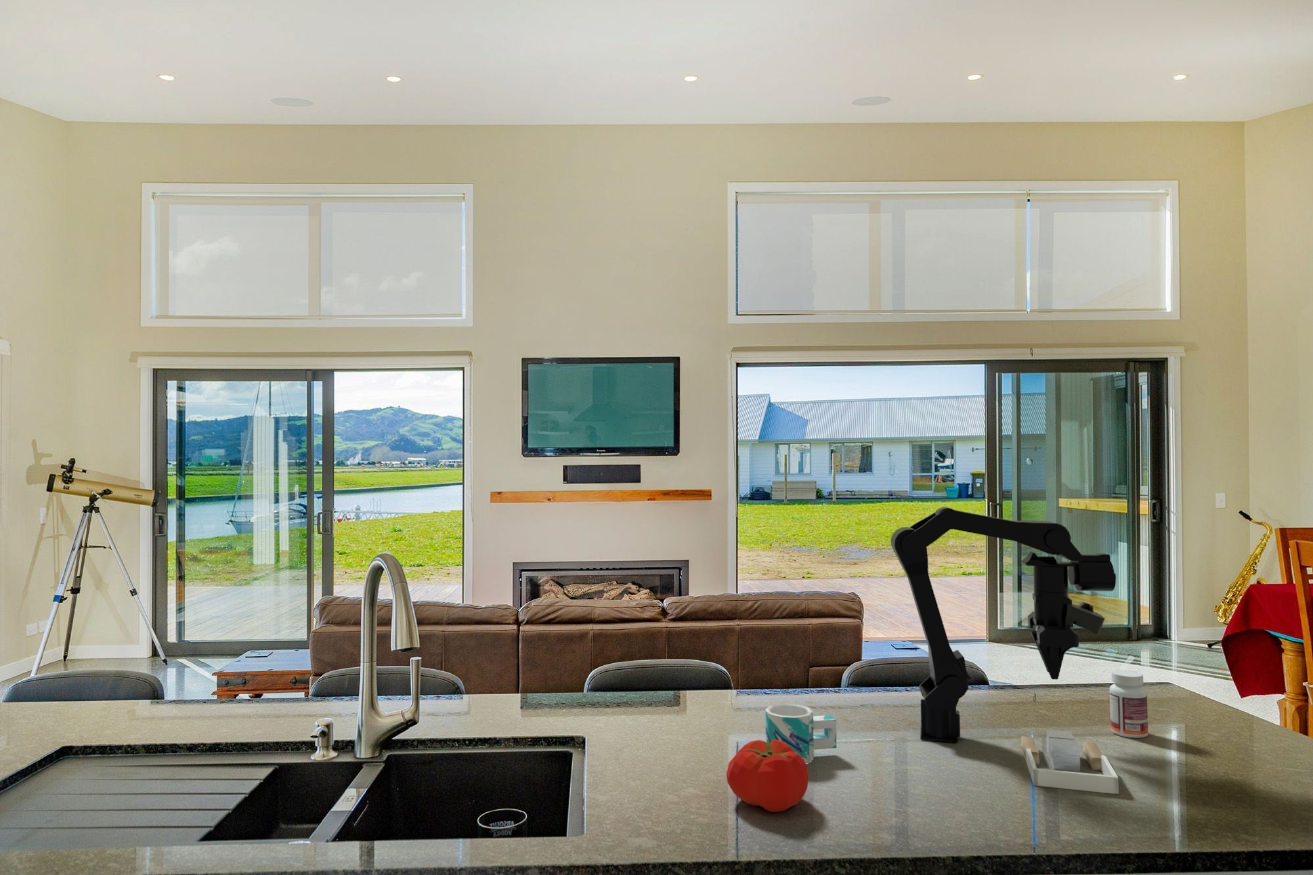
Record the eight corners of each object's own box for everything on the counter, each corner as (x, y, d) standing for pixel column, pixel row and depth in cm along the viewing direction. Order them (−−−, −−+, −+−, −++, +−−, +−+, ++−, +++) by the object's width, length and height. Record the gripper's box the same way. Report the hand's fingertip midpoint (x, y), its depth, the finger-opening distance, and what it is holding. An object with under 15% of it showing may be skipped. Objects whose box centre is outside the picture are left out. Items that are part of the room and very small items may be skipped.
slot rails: (1026, 763, 140) (1026, 751, 140) (1021, 747, 148) (1021, 736, 148) (1105, 770, 137) (1105, 758, 137) (1096, 754, 144) (1095, 742, 144)
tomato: (724, 786, 132) (723, 732, 132) (803, 787, 131) (802, 732, 131) (729, 821, 119) (728, 761, 119) (815, 822, 118) (815, 762, 119)
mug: (761, 751, 147) (760, 704, 148) (825, 747, 149) (824, 700, 150) (775, 768, 139) (774, 718, 140) (842, 763, 141) (842, 714, 141)
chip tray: (1033, 785, 131) (1033, 769, 131) (1026, 763, 140) (1026, 748, 140) (1118, 794, 127) (1118, 777, 127) (1105, 770, 137) (1105, 755, 137)
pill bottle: (1154, 734, 154) (1153, 673, 154) (1137, 741, 151) (1136, 678, 151) (1121, 726, 159) (1119, 667, 160) (1103, 732, 156) (1102, 671, 156)
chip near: (1053, 769, 138) (1053, 745, 138) (1050, 761, 141) (1049, 737, 142) (1080, 772, 136) (1079, 747, 137) (1076, 763, 140) (1075, 740, 140)
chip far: (1049, 760, 142) (1049, 736, 142) (1046, 752, 146) (1046, 729, 146) (1075, 762, 141) (1075, 739, 141) (1071, 754, 145) (1071, 731, 145)
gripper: (1110, 600, 140) (1112, 693, 140) (1090, 584, 158) (1092, 666, 158) (1039, 597, 144) (1040, 687, 143) (1026, 582, 161) (1028, 662, 161)
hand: (1052, 675), depth 151 cm, fingers open, 5 cm apart
